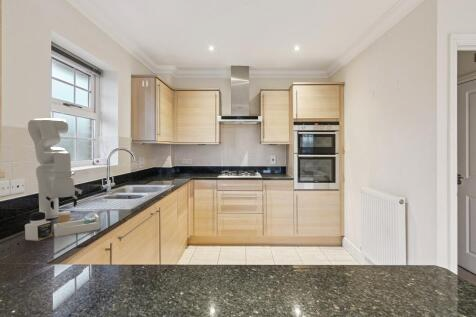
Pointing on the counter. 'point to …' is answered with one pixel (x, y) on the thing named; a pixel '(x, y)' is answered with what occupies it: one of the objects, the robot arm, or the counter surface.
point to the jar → (64, 216)
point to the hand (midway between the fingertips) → (64, 207)
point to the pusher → (88, 220)
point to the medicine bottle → (38, 227)
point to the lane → (76, 226)
